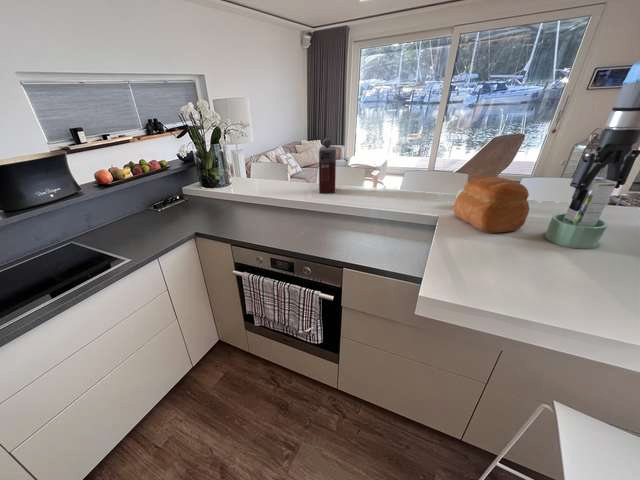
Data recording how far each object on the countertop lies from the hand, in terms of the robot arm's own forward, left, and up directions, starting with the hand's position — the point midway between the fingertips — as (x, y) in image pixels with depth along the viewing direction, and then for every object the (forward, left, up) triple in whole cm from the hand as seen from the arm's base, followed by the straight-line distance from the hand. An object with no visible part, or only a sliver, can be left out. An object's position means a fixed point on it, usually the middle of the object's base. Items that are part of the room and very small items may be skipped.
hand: (585, 208), depth 90 cm
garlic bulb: (+15, -37, -11) cm, 42 cm away
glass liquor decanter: (+72, -74, -11) cm, 104 cm away
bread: (+17, -18, -11) cm, 27 cm away
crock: (0, 0, -11) cm, 11 cm away
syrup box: (0, 0, -6) cm, 6 cm away
